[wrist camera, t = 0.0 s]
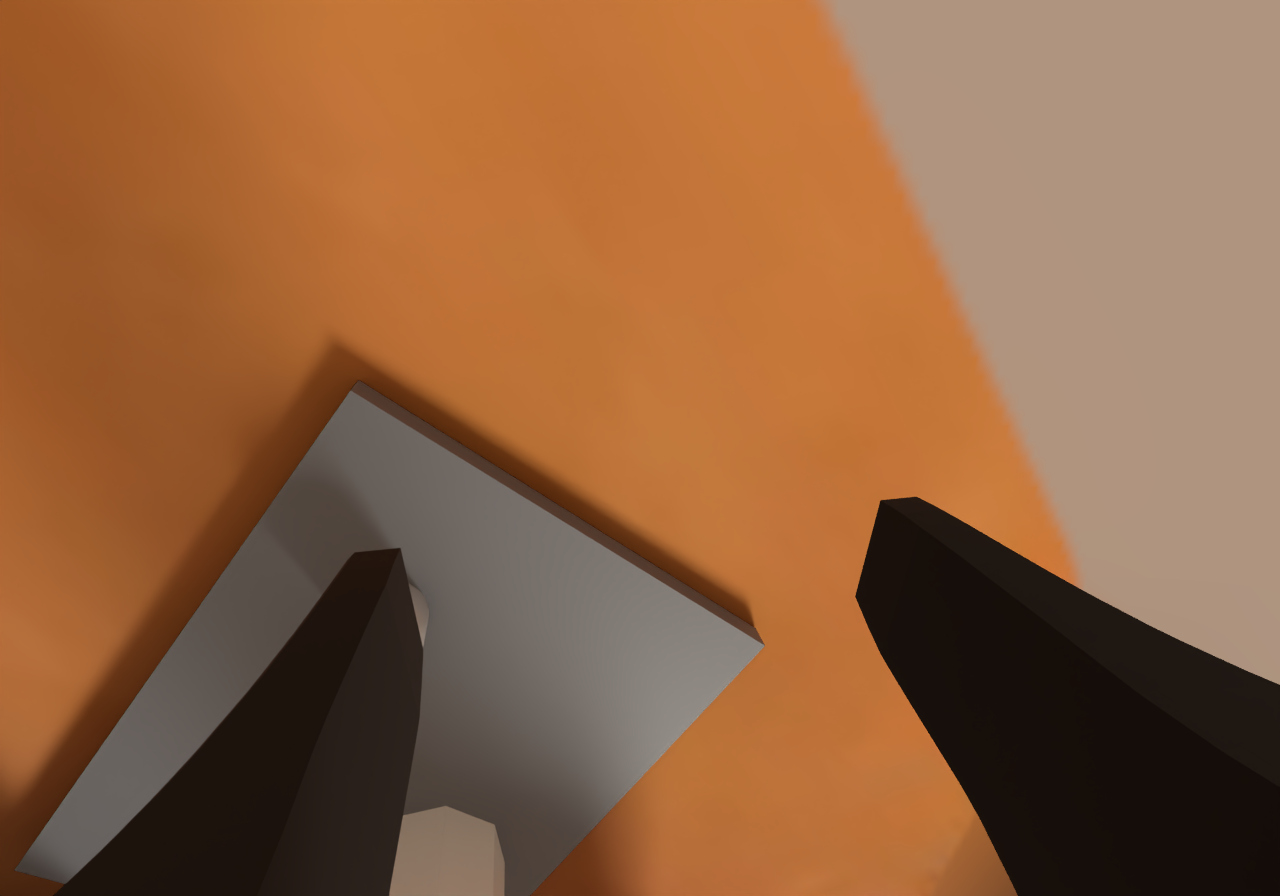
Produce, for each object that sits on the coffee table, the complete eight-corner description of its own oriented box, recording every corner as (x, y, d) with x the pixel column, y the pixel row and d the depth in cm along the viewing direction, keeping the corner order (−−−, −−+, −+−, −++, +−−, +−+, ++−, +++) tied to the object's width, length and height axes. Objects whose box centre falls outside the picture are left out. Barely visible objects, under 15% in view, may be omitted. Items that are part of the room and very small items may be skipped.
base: (447, 960, 28) (436, 1093, 24) (34, 842, 22) (-74, 992, 18) (755, 628, 24) (805, 719, 20) (358, 379, 18) (315, 436, 14)
